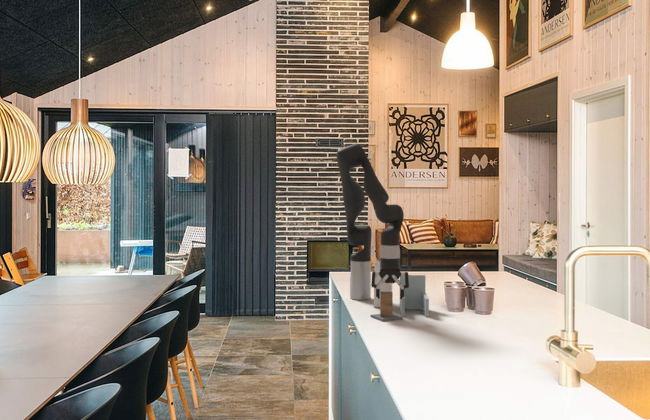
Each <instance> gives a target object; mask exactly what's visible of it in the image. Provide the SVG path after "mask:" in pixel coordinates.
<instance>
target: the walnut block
mask: <svg viewBox="0 0 650 420" xmlns="http://www.w3.org/2000/svg"><path fill="white" fill-rule="evenodd" d="M393 303H394V302H393V291H392V292H389V291H381V305H380V307H379V308H380V310H379V311H380V313H379V314H380V317H392V314H393Z"/></svg>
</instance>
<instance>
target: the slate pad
mask: <svg viewBox="0 0 650 420" xmlns="http://www.w3.org/2000/svg"><path fill="white" fill-rule="evenodd" d="M370 318H373V319H374V320H378V321H380V322H389V321H390V322H391V321H401V320H404V317H401V315H398V314H394V313H392V317H380V313H375V314H370Z"/></svg>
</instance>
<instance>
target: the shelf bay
mask: <svg viewBox="0 0 650 420" xmlns="http://www.w3.org/2000/svg"><path fill="white" fill-rule="evenodd" d="M408 279H409V287H408V288H405V289H404V298H402V299H400V298H399V312H400V316H401V317H403V318H405V315H406V313H405V312H406V311H405V310H422V312H423V314H424V317H425V318H430V317H429V316H430V314H429V312H430V310H429V309H430V308H429V307H430V306H429V305H430V298H429V297H428V295H427V293H426V275H425V274H408ZM399 281H400V282H401V283H402V285H405V278H404V277H403V276H402V275H401V276H400V278H399ZM400 289H401V288H400V287H399V290H400Z"/></svg>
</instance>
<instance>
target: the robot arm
mask: <svg viewBox="0 0 650 420" xmlns="http://www.w3.org/2000/svg"><path fill="white" fill-rule="evenodd" d="M336 162H337V167H338V171H339V176H340V180H341V187H342V188H341V189H342V199H343V205H344V211H345V212H344V213H345V218H346V219H345V220H346V221H345V222H346V236H347V237H346V238H347V242H348V245H350V246H359V247H360V246H361V247H363V248H362V249H360V250H359V251H357V252H354V253H352V254H351V255H350V276H349V298H350V299H352V300H358V301H364V300H370V299H371V297H372V296H371V294H372V293H371V292H372V288H373V289H374V288H376V297H378V299H380V287H381V285H382V284H383V283H384V282H385V283H392V284H395V283H396V284H397V285H398V286H399V300H400V299H402V298H404V289H405V288H408V287H409V279H408V275H409V272H408V271H402V272H401V249H400V234H401V233H400V232H401V230H402V227H403V221H404V216H405V214H404V210H403V208H402V207H401V205H399V204H394V203H393V204H388V202H389V198H390V196H389V193H388V192H387V191H386V189H385V187H384V186H383V184H382V183H381V182H380V179H379V178H378V177H377V175H376V172H375V171H374V168H373V165H372V164H371V162H370V159H369V157H368V155H367V153H366V152H365V149H364V148H363V147H362V145H361V144H360V143H353V144H350V145H347V146H344V147H342V148H341V147H340V148H339V149H338V150H337V151H336ZM360 166H361V167H362V169H363V176H364V177H363V187H362V185H360V184H359V183H358V182H357V181H356V180H355V179H354V178H353V177H352V176H351V172H350V171H351V170H352V169H354V168H357V167H360ZM363 188H364V189H363ZM365 194H366V195H365ZM365 196H367V198H368V199H369V200H370V202H371V204H372V206H373V210H374V211H373V212H374V213H375V216H376V219H377V220H378V221H380V222H381V223H382V224H387V228H385V229H382V230H381V233H380V250H379V253H380V254H379V258H380V259H379V261H380V272H375V271H374V270H373V271H372V266H371V265H372V258H371V257H372V235H373V234H372V227H371V226H370V225H366V224H365V225H363V224H362V225H359V224H358V225H355V223H356V220H357V218H359V216H360V214H361V213H362V211H363V210H364V208H365V205H366V198H365ZM378 275H379V276H380V277H381V278H382V279H381V280H380V281H379V283H378V284H377V285H376V284H375V278H376V277H377V276H378ZM401 275H402V276H403V277H404V278H405V285H402V283H401V282H400V276H401ZM400 288H401V289H400Z"/></svg>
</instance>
